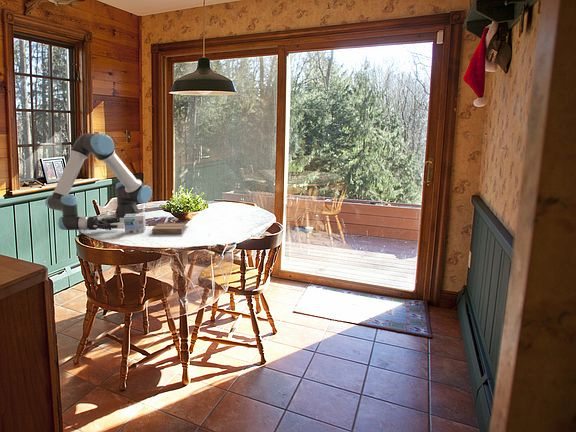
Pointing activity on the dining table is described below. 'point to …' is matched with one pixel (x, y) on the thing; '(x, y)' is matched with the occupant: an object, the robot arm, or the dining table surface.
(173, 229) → the walnut plinth
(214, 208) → the dining table surface
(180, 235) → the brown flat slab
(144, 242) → the dining table surface
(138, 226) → the light bulb box
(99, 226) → the robot arm
